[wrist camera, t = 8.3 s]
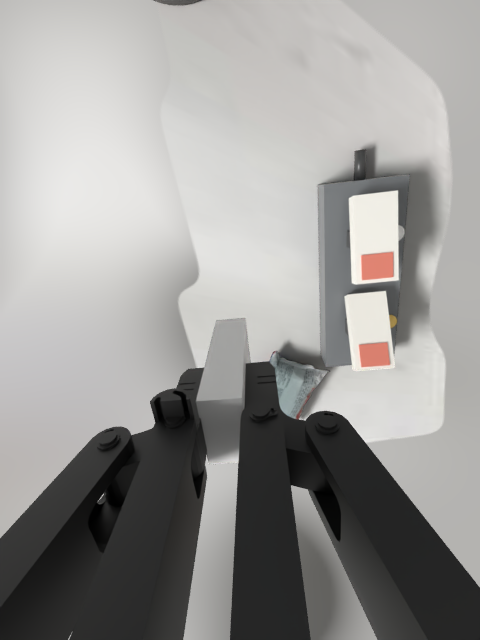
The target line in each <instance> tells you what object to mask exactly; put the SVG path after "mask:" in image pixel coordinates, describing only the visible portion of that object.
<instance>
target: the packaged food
mask: <svg viewBox="0 0 480 640" xmlns="http://www.w3.org/2000/svg"><path fill="white" fill-rule="evenodd" d="M269 362H270V363H271V364H272V365H273V366H274V367H275V374H276V382H277V389H278V397H279V404H280V408H281V410H282V411H283V412H284V413H285V414H286V415H287V416H289V417H292V418H294V419H298V420H299V417H300V415H301V413H302V411H303V407H304V405H305V404H306V402H307V401H308V399H309V398H310V397H311V393H312V391H313V390H314V389H315V388H316V387H317V385H318V384H319V383H320V382H321V380H322V379H323V377H324V376H325V375H326V374H327V372H328V371H329V372H330V370H318V369H316V368H314V367H313V366H312V365H307V364H306V365H303V364H300V363H298V362H293V361H288V360H286V359H285V358H280V357H279V353H278V352H277V351H274V352H273V354H272V356H271V359H270V361H269Z"/></svg>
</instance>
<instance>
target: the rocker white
mask: <svg viewBox="0 0 480 640" xmlns="http://www.w3.org/2000/svg"><path fill="white" fill-rule="evenodd" d="M349 220H350V248H351V276H352V283H353V284H356V285H357V284H367V283H377V282H387V281H397V280H399V258H398V190H397V191H389V192H380V193H372V194H364V195H355V196H352V197H350V198H349Z"/></svg>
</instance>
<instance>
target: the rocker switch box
mask: <svg viewBox="0 0 480 640" xmlns="http://www.w3.org/2000/svg"><path fill="white" fill-rule="evenodd" d="M365 173H366V150H358V151H355V161H354V180H353V181H345V182H337V183H329V184H321V185H318V232H319V289H320V345H321V356H322V359H323V361H324V364H325V366H326V367H332V366H344V365H352V360H351V352H350V343H349V334H348V325H347V316H346V307H345V298H344V296H346V295H349V294H359V293H369V292H380V291H386V296H387V304H388V312H389V320H390V329H391V337H392V345H393V353H394V352H395V341H396V329H397V317H398V306H399V294H400V282H401V270H402V259H403V247H404V235H405V224H406V212H407V200H408V189H409V177H410V174H408V175H394V176H386V177H378V178H370V179H365ZM397 190H398V258H399V280H397V281H387V282H377V283H367V284H357V285H356V284H353V283H352V276H351V248H350V220H349V198H350V197H352V196H355V195H364V194H372V193H380V192H389V191H397Z"/></svg>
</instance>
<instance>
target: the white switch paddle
mask: <svg viewBox="0 0 480 640" xmlns="http://www.w3.org/2000/svg"><path fill="white" fill-rule="evenodd" d="M344 298H345V307H346V316H347V325H348V334H349V343H350V352H351V360H352V369H353V370H354V371H365V370H377V369H390V368H395V361H394V353H393V345H392V337H391V329H390V320H389V312H388V304H387V296H386V291H380V292H369V293H359V294H349V295H346V296H344Z"/></svg>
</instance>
